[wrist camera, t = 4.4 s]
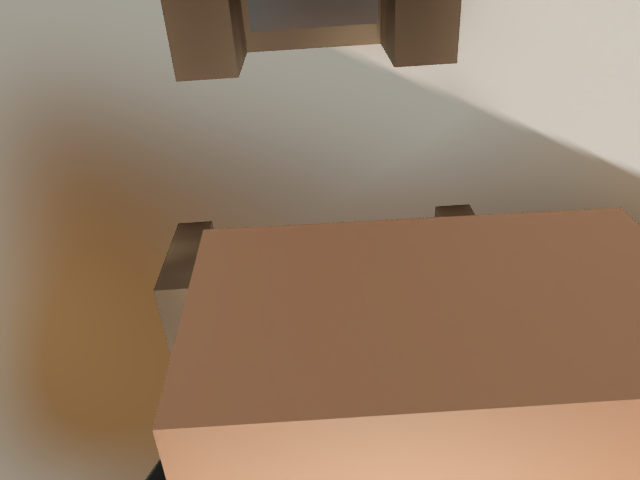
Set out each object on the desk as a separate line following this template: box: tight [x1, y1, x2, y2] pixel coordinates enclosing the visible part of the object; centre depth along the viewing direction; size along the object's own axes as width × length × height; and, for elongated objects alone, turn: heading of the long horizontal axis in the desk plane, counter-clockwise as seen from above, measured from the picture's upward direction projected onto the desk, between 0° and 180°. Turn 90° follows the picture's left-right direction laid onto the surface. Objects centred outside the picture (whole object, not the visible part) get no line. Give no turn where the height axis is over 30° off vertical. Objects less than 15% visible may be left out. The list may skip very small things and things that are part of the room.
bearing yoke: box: [161, 0, 461, 81], centre depth 15 cm, size 7×2×3 cm, turn 93°
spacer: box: [153, 208, 640, 480], centre depth 8 cm, size 6×6×4 cm
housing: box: [154, 205, 475, 355], centre depth 20 cm, size 10×7×4 cm, turn 93°
